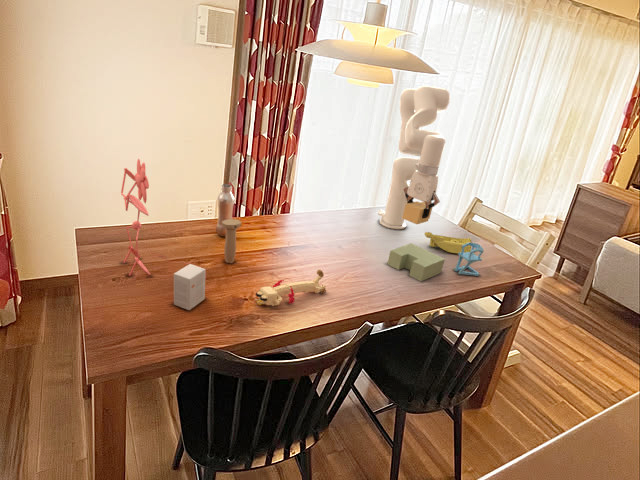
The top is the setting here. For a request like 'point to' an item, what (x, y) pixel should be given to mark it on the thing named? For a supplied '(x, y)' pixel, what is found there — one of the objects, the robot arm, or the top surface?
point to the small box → (189, 286)
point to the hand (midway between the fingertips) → (416, 214)
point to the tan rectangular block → (415, 212)
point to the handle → (230, 239)
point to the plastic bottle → (224, 207)
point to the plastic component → (449, 243)
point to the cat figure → (288, 290)
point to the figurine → (137, 206)
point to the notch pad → (416, 261)
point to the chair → (469, 259)
